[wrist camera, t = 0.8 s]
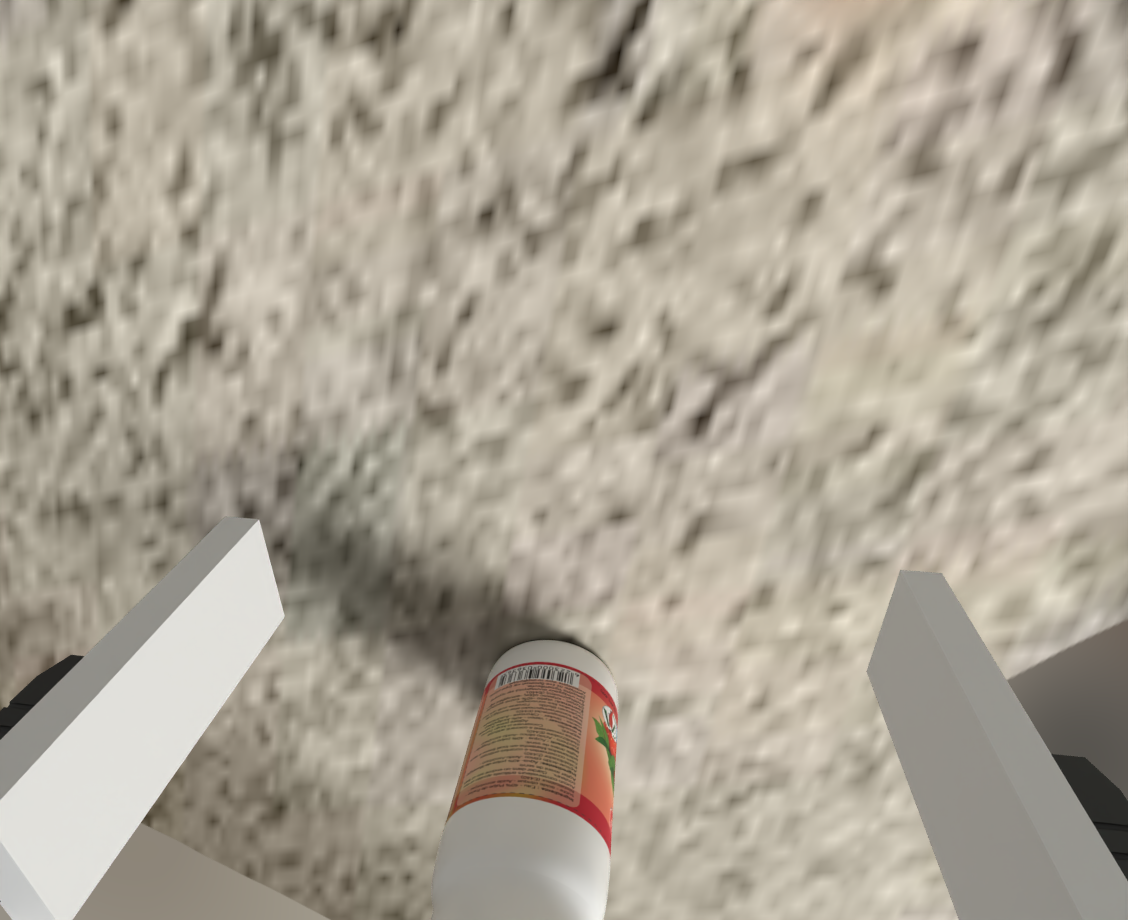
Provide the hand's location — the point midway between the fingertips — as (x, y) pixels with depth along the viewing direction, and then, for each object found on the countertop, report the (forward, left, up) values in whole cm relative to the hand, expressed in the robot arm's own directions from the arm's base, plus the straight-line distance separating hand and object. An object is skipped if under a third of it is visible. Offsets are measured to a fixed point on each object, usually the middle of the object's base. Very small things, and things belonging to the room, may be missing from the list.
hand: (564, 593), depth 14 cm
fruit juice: (+27, -3, -23) cm, 36 cm away
